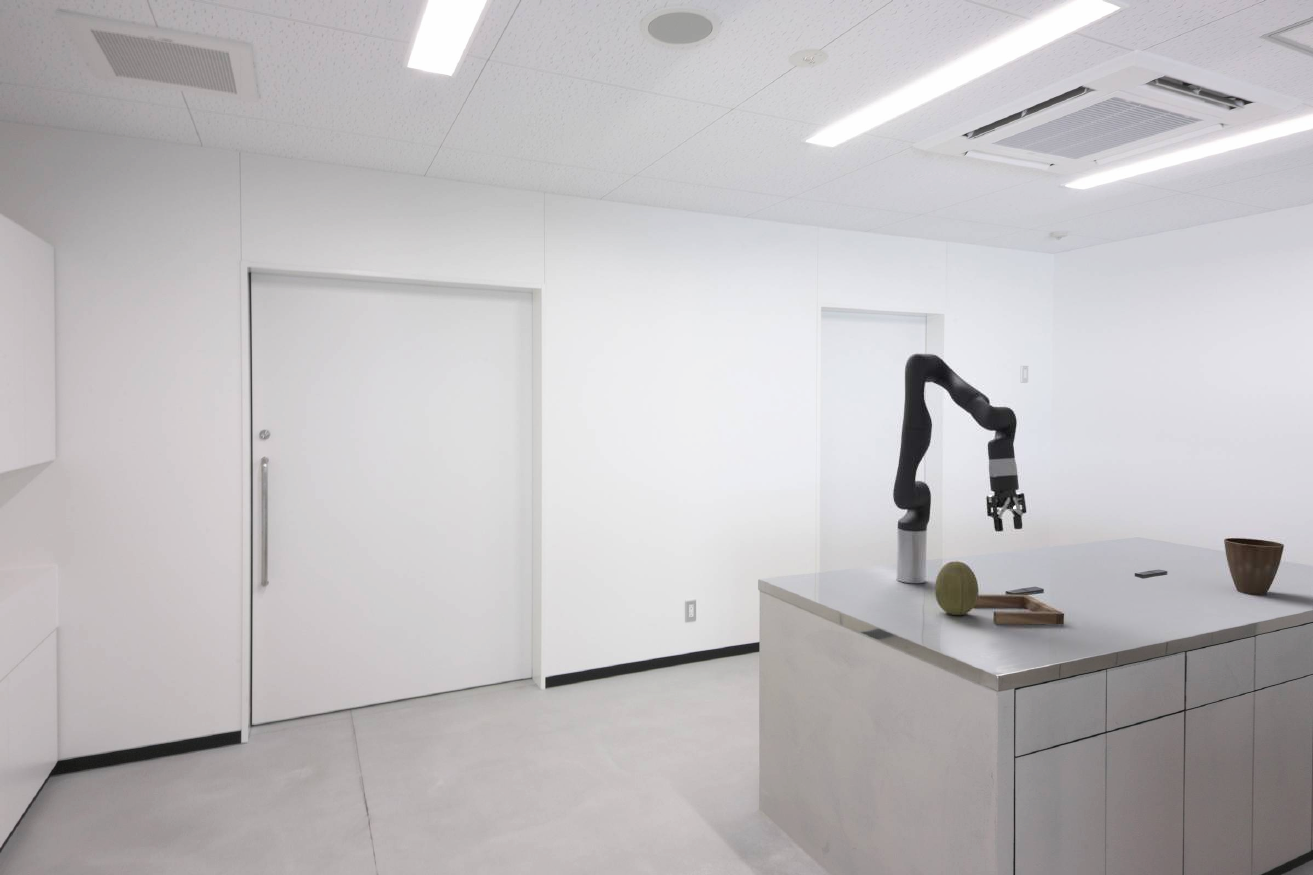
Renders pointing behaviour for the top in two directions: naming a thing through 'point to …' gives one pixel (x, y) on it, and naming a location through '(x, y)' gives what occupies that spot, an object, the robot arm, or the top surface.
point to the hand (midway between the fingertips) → (1008, 530)
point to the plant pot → (1253, 563)
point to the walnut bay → (1037, 616)
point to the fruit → (956, 588)
